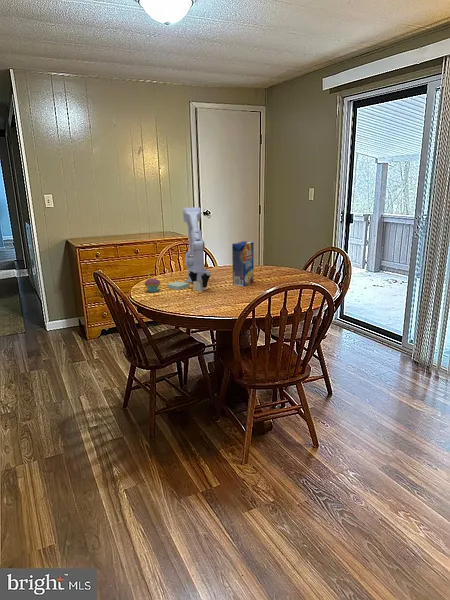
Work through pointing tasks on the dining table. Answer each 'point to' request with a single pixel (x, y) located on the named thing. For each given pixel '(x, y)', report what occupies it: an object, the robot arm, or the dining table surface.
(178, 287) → the base
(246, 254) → the juice carton
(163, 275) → the dining table surface
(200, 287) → the block
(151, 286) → the cupcake
